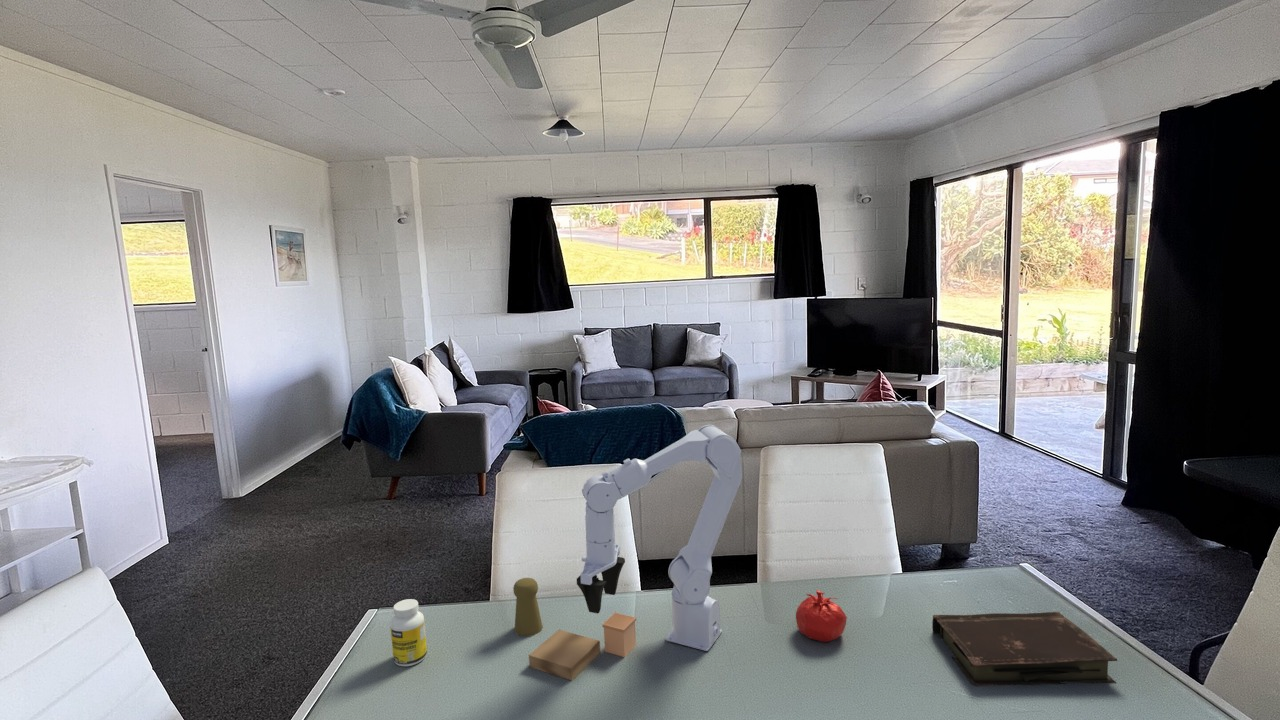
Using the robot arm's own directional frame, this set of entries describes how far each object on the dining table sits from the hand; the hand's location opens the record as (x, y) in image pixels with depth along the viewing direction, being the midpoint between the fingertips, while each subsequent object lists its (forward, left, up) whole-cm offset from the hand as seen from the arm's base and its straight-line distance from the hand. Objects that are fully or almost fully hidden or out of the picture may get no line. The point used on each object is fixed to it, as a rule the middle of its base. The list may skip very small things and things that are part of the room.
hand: (602, 602), depth 131 cm
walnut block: (+6, +6, -10) cm, 13 cm away
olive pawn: (+20, 0, -11) cm, 22 cm away
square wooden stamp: (-2, -2, -10) cm, 11 cm away
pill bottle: (+35, +19, -11) cm, 41 cm away
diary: (-73, -32, -11) cm, 80 cm away
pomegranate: (-37, -24, -11) cm, 46 cm away
